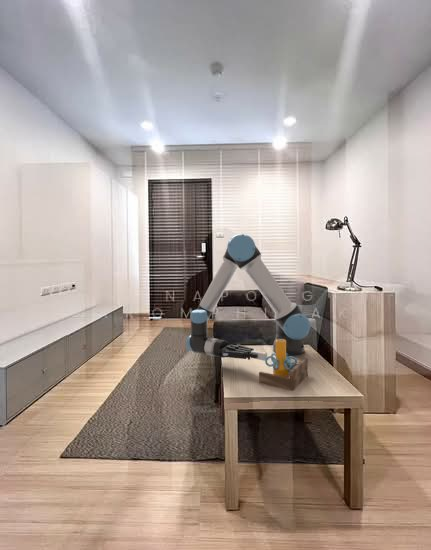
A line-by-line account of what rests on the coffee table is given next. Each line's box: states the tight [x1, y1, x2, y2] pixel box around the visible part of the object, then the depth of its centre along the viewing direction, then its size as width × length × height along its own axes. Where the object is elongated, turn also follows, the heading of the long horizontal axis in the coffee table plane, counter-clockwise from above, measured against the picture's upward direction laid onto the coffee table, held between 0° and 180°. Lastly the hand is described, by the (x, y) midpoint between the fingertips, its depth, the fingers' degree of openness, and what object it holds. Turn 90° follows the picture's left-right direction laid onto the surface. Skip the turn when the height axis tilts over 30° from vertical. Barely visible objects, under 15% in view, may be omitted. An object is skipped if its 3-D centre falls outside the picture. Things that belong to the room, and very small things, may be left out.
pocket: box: [258, 357, 309, 392], centre depth 122 cm, size 16×13×7 cm
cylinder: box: [264, 339, 298, 378], centre depth 124 cm, size 12×10×15 cm
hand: (266, 356), depth 126 cm, fingers closed
